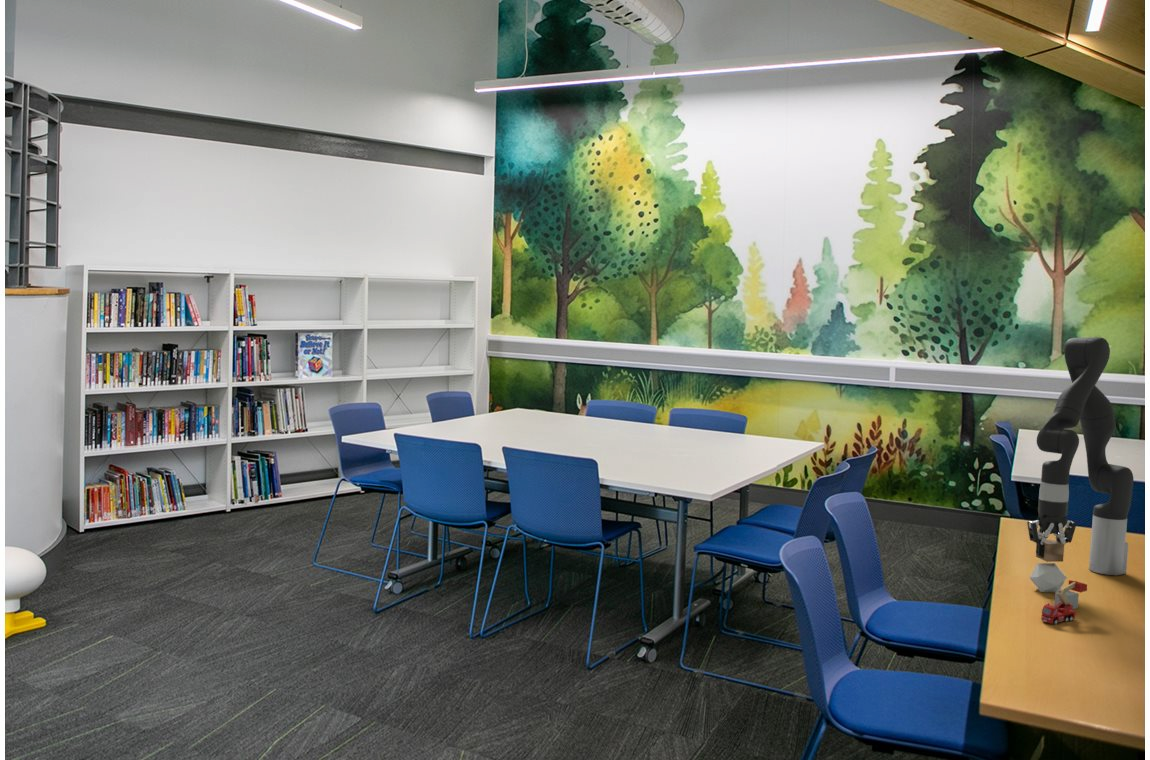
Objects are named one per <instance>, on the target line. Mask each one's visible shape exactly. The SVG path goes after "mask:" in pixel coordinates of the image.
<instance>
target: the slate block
mask: <svg viewBox="0 0 1150 760" xmlns="http://www.w3.org/2000/svg"><path fill="white" fill-rule="evenodd" d="M1057 592H1058V591H1056V592H1054V593H1055V594H1054V606H1056V605H1057V604H1059V603H1060V602H1061V601H1060V599H1059V598H1058V596H1057V595H1056V593H1057ZM1066 594H1067V597H1068V599H1069V602H1070V604H1071V605H1073V610H1076V609H1078V608H1079V593H1078V592H1075V591H1072V590H1069V591H1067V592H1066Z"/></svg>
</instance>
